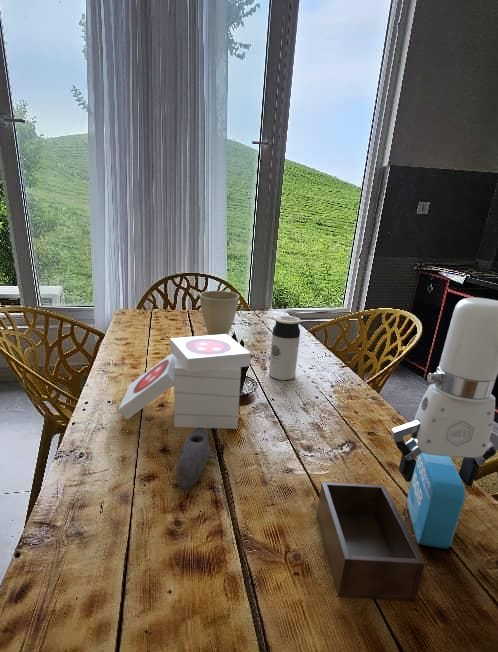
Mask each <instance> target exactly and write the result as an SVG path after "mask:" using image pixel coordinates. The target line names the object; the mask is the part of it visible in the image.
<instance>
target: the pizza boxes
mask: <svg viewBox="0 0 498 652" xmlns="http://www.w3.org/2000/svg"><path fill="white" fill-rule="evenodd" d="M169 351H170V352H171V353H170V354H168V355H167V356H166V357H164V358H163V359H162V360H160V361H159V362H158V363H157V364H155V365H153V366H152V367H151V368H150V369H148V370H147V371H145V372H144V373H143V374H142V375H140V376H139V377H138V378H137V379H135V380H134V381H132V382H131V383H130V384H129V385H128V387H127V390H126V392H125V394H124V396H123V398H122V400H121V402H120V405H119V406H118V409H117V411H118V412H119V413H120V414H121V415H122V416H123V417H124V419H126V420H129V419H130V418H131V417H133V416H134V415H136V414H137V413H138V412H139V411H141V410H142V409H144V408H145V407H147V406H148V405H149V404H150V403H152V402H153V401H155V400H156V399H157V398H159V397H160V396H162V395H163V394H165V393H166V392H167V391H168V390H170V389H172V388H173V387H174V389H173V391H174V392H173V393H174V394H173V395H174V396H173V397H174V400H173V402H174V404H173V405H174V407H173V410H174V411H173V412H174V413H173V421H174V422H173V426H174V428H194V429H196V428H199V429H227V430H238V425H239V409H240V408H239V407H240V394H241V376H242V368H244V367H245V368H246V367H250V366H251V354H252V353H251V351H249V350H247V348H245V347H244V346H242V345H241V343H239V342H238V341H236V340H235V339H234V338H233V337H231V335H229V334H228V335H227V334H219V335H208V334H207V335H194V336H181V337H170V338H169Z"/></svg>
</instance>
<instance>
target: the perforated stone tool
mask: <svg viewBox="0 0 498 652" xmlns="http://www.w3.org/2000/svg"><path fill="white" fill-rule="evenodd" d="M179 452H180V453H179V455H178V459H177V463H176V474H175V475H176V482H177V487H178V489H179V490H180V491H182V492H186V491H188V490H190V489H191V488H193V487H194V486H195V484H196V483H197V482H198V481H199V479H200V477H201V476H202V474H203V472H204V469H205V467H206V465H207V463H208V461H209V457H210V455H211V445H210V438H209V434H208V431H207V430H206V429H203V428H193V430H192V431H191V432H190V434H188V436H187V438H186V440H185V441H184V443H183V445H182V448H181V450H180V451H179Z"/></svg>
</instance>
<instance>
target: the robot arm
mask: <svg viewBox="0 0 498 652" xmlns="http://www.w3.org/2000/svg"><path fill="white" fill-rule="evenodd" d="M497 377H498V300H496V299H491V298H485V297H466V298H462V299H461V300H459V301H458V302H457V303H456V304H455V307H454V309H453V312H452V316H451V320H450V324H449V327H448V330H447V335H446V338H445V341H444V346H443V350H442V353H441V357H440V360H439V363H438V366H437V367H436V371H435V372H429V373H428V374H427V377H426V378H427V379H426V380H427V382H428V383H432V384H429V386H428V388H427V389H426V391H425V393H424V395H423V396H422V399H421V401H420V403H419V406H418V409H417V411H416V413H415V417H414V420H413V421H410V422H407V423H403V424H401V425H398V426H395V427H393V428H391V429H390V433H391V437H392V439H393V443H394V444H395V446H396V448H397V449H398V451H399V452H400V453H401V457H400V462H399V465H398V472H399V473H400V474H401V476H402V478H403V479H404V481H405V482H407V483H411V481H412V477H413V473H414V469H415V466H416V459H415V458H417V456H418V455H419V454H421V453H422V452H423V453H425V454H429V455H438V456H450V457H451V458H453V457H454V458H463V459H462V462H461V465H460V468H459V471H458V474H459V476H460V478H461V480H462V482H463V484H465V486H467V487H473V484H474V481H475V480H476V478H477V475H478V472H479V469H480V467H481V466H484V465H485V464H486V461H487V460H489V459H490V458H492V457H494V456H495V455H496V454H497V451H498V433H496V432H494V431H493V426H494V421H495V411H496V397H495V395H493V394H492V392H493V389H494V386H495V383H496V379H497ZM409 435H410V439H408V440H407V441H404V437H406V436H409Z"/></svg>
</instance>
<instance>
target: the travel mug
mask: <svg viewBox="0 0 498 652" xmlns="http://www.w3.org/2000/svg"><path fill="white" fill-rule="evenodd" d="M274 320H275V325H274V326H273V328H272V336H271V347H270V356H269V370H268V375H269V376H270V377H271V378H273V379H275V380H280V381H287V380H288V381H289V380H292V379H294V378H296V371H297V363H298V362H297V361H298V355H299V345H300V336H301V329H300V326H299V325H300V323H301V318H299V317H298V316H293V315H278V316H275V317H274Z"/></svg>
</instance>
